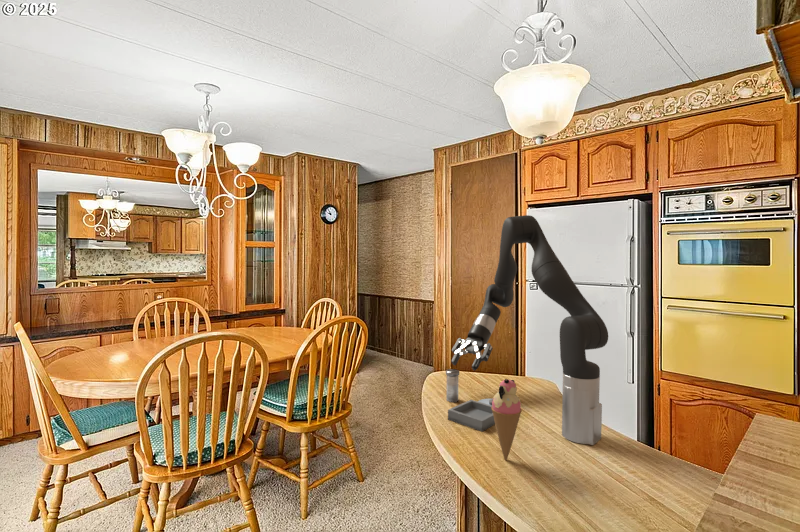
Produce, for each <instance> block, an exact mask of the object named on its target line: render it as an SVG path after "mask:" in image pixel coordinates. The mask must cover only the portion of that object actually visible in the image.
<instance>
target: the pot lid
mask: <svg viewBox="0 0 800 532" xmlns="http://www.w3.org/2000/svg"><path fill="white" fill-rule="evenodd" d="M492 401H493V398H483V399H479V400H478V402H481V403H484V404H488V405H491V406H492Z"/></svg>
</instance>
